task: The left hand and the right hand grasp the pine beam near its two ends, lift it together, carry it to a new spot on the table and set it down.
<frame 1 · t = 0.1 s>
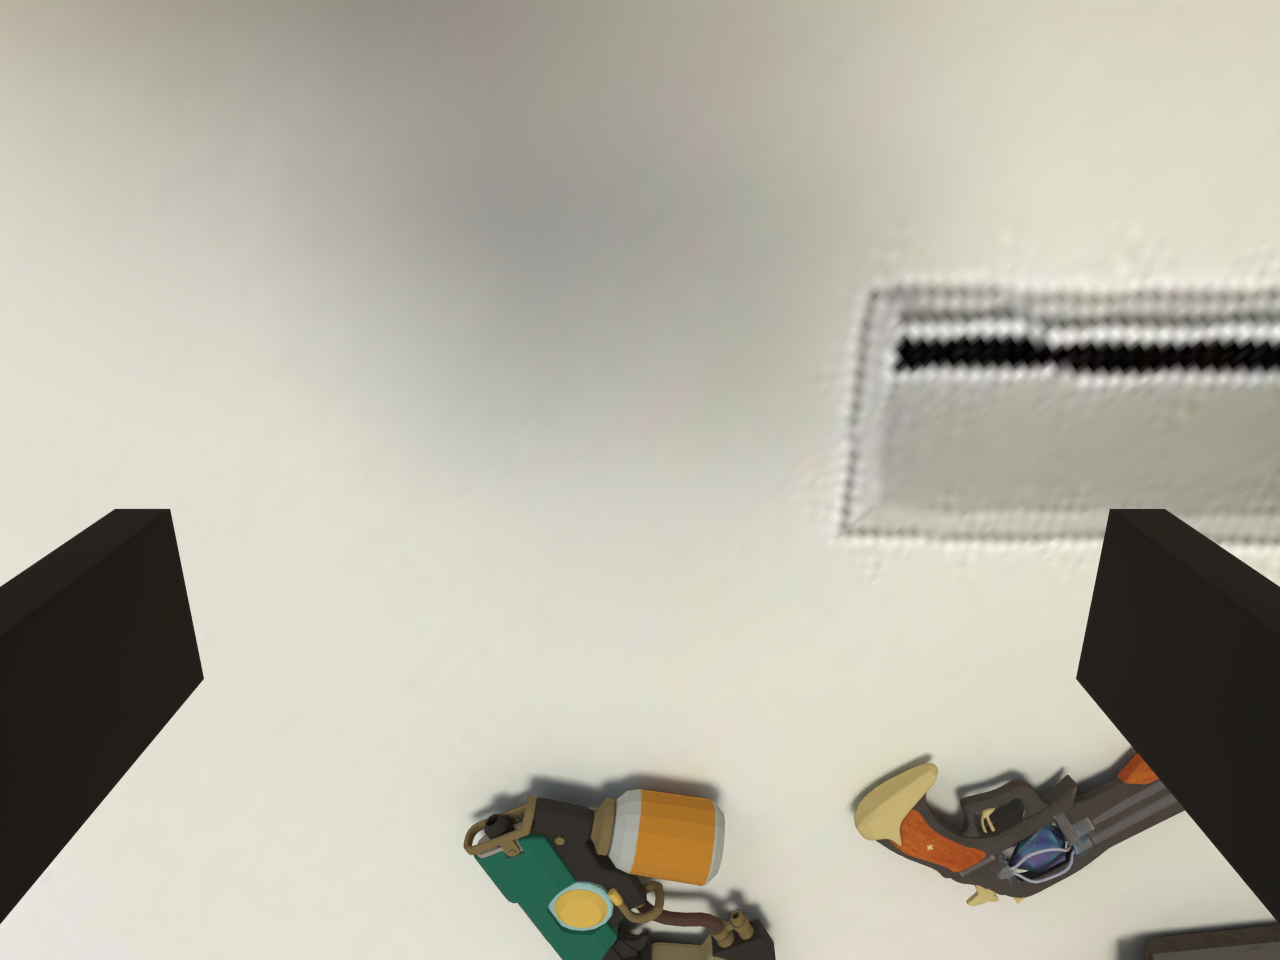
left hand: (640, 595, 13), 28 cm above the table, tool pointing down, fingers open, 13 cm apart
spray gun: (628, 881, 50), on the table
toy gun: (1039, 780, 48), on the table
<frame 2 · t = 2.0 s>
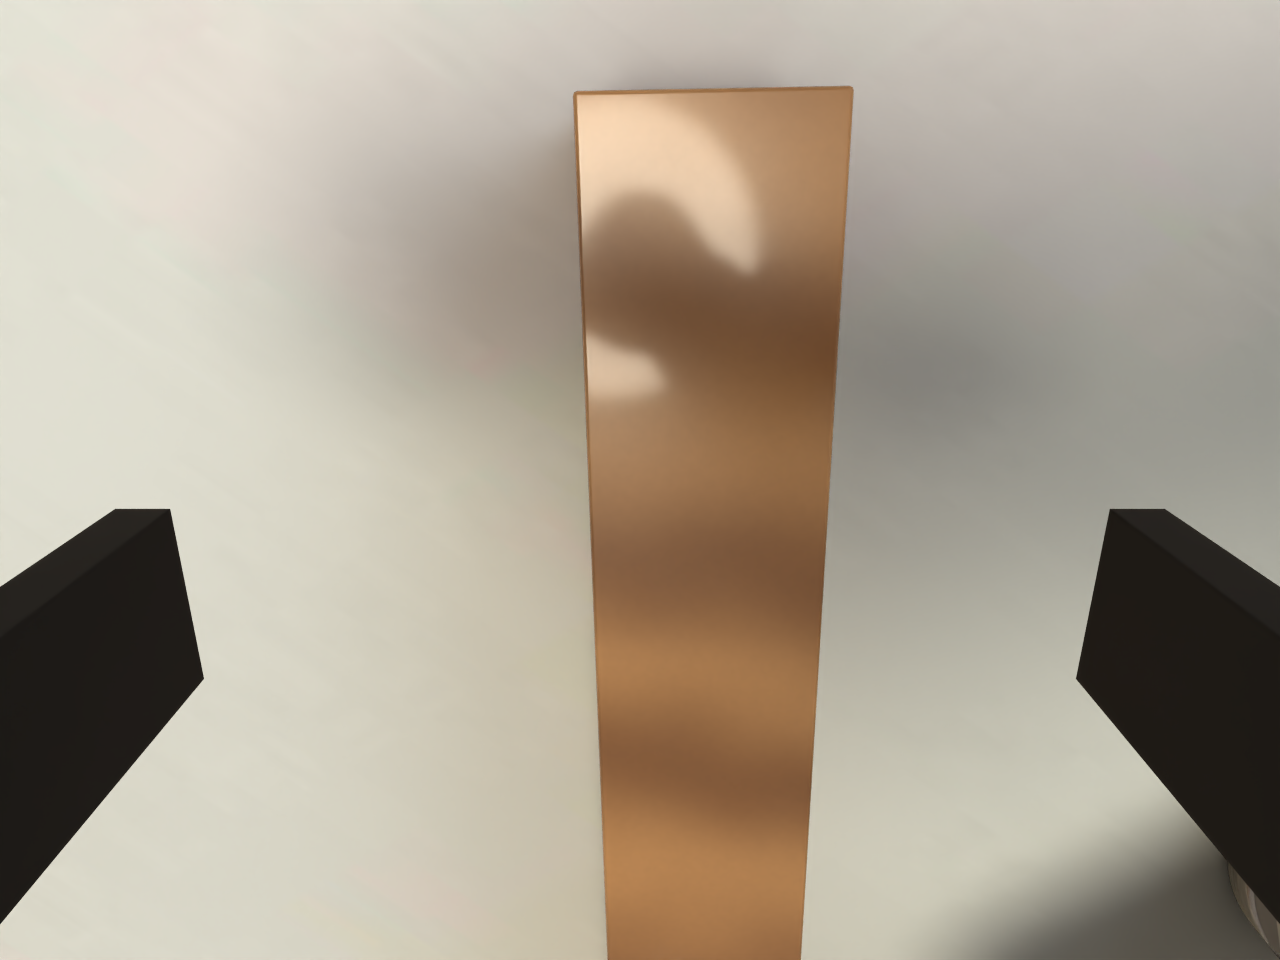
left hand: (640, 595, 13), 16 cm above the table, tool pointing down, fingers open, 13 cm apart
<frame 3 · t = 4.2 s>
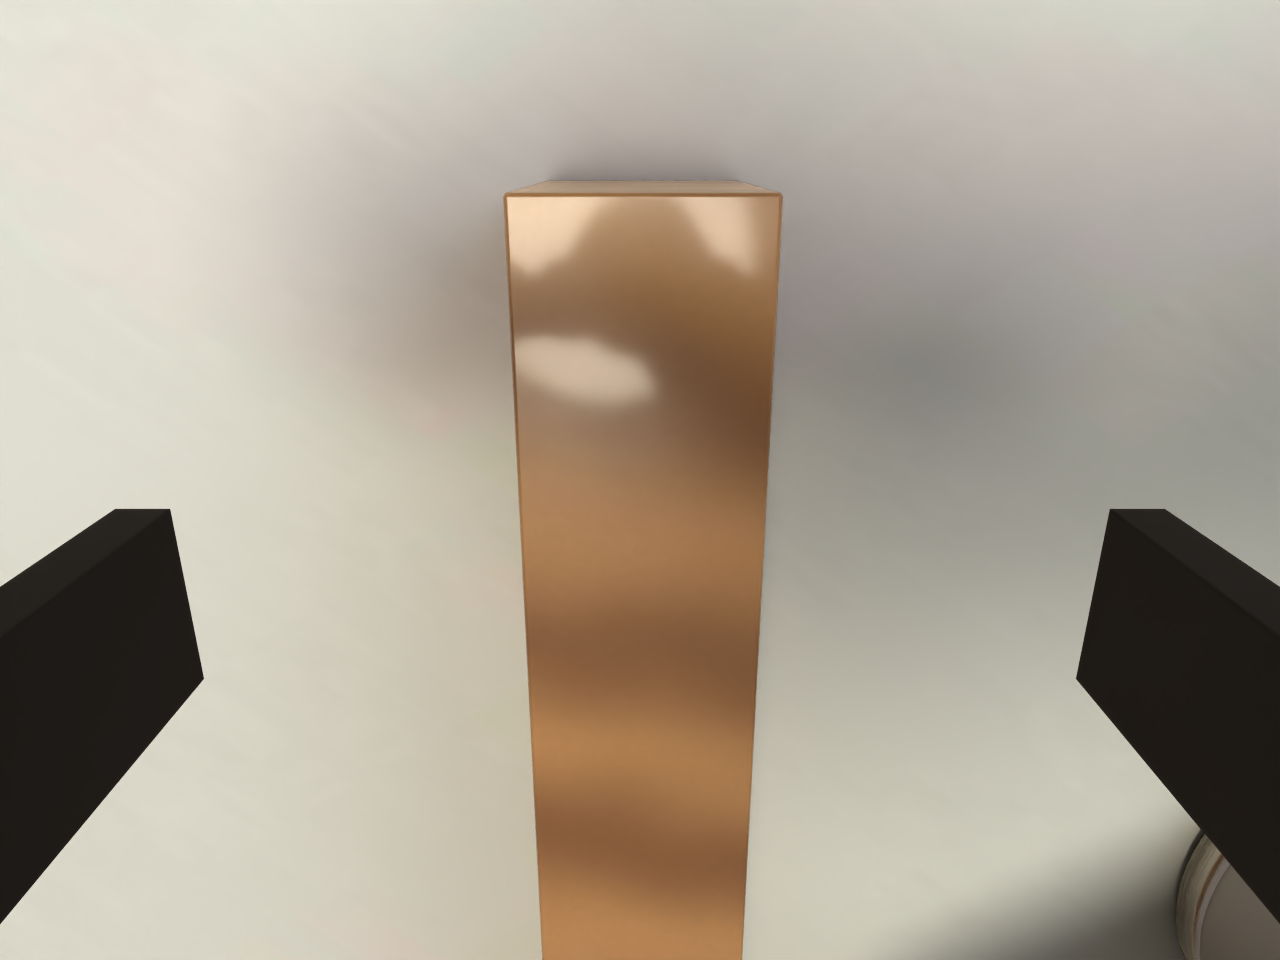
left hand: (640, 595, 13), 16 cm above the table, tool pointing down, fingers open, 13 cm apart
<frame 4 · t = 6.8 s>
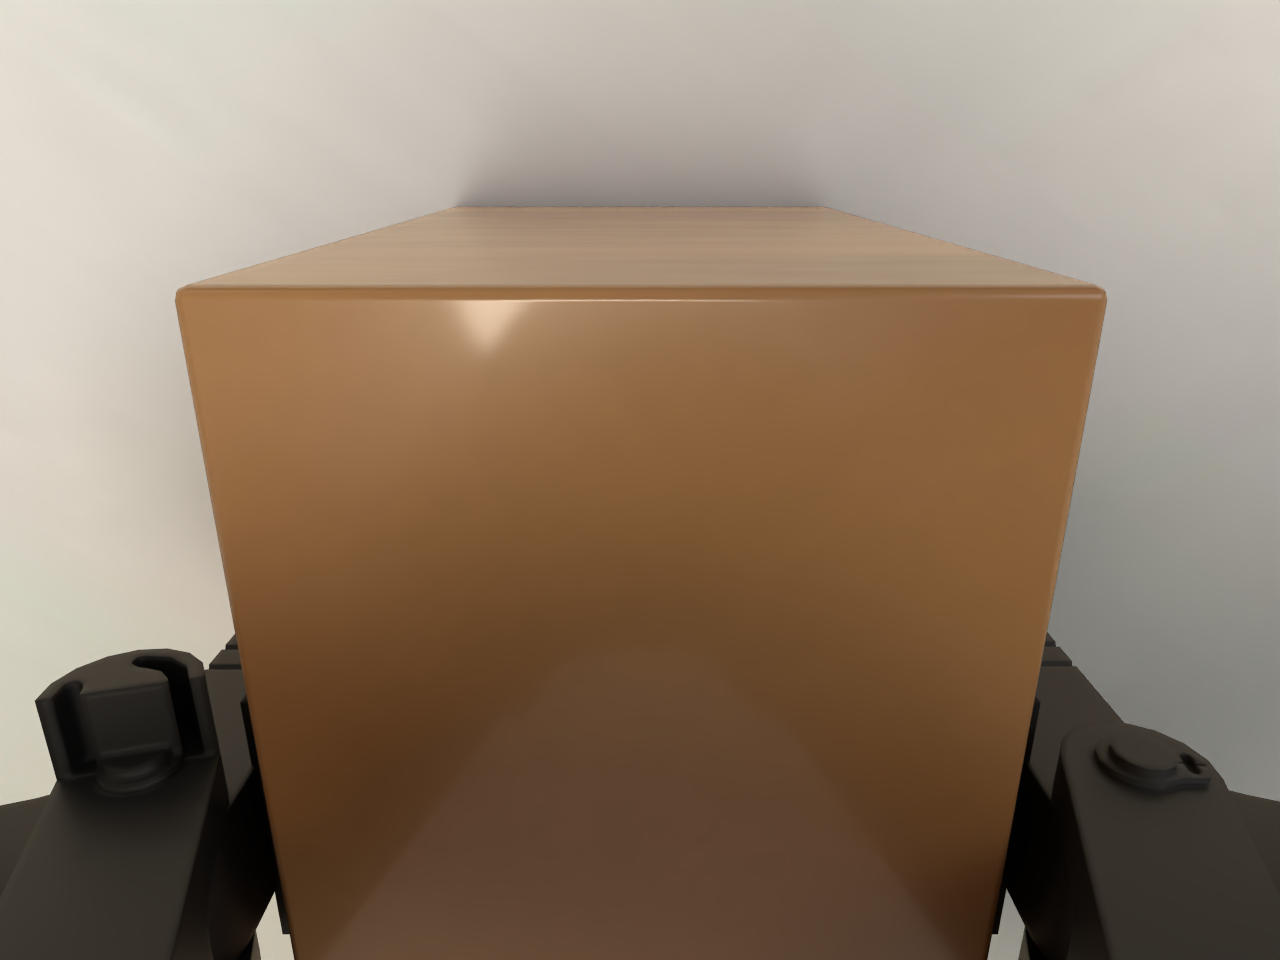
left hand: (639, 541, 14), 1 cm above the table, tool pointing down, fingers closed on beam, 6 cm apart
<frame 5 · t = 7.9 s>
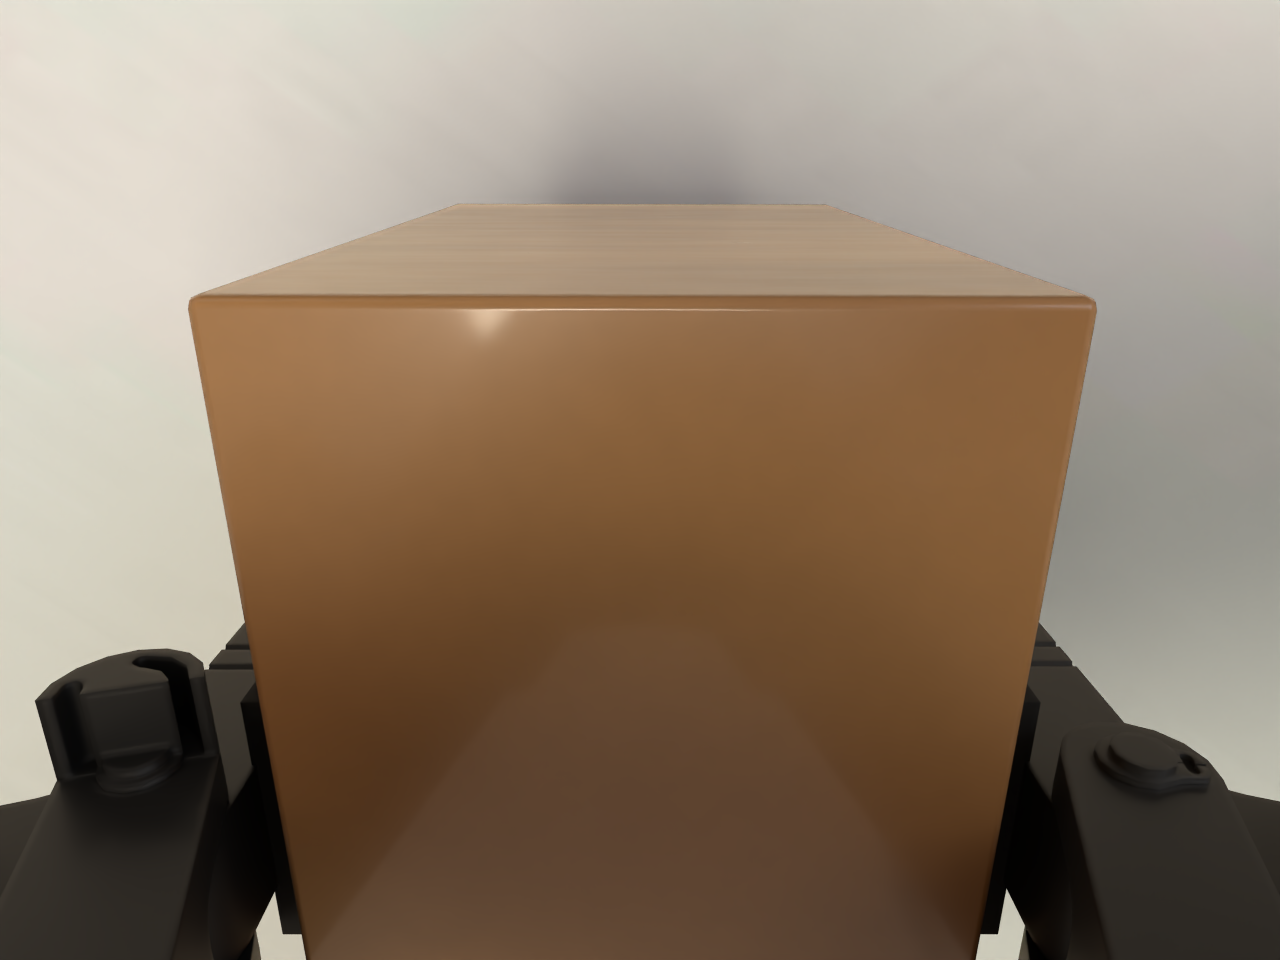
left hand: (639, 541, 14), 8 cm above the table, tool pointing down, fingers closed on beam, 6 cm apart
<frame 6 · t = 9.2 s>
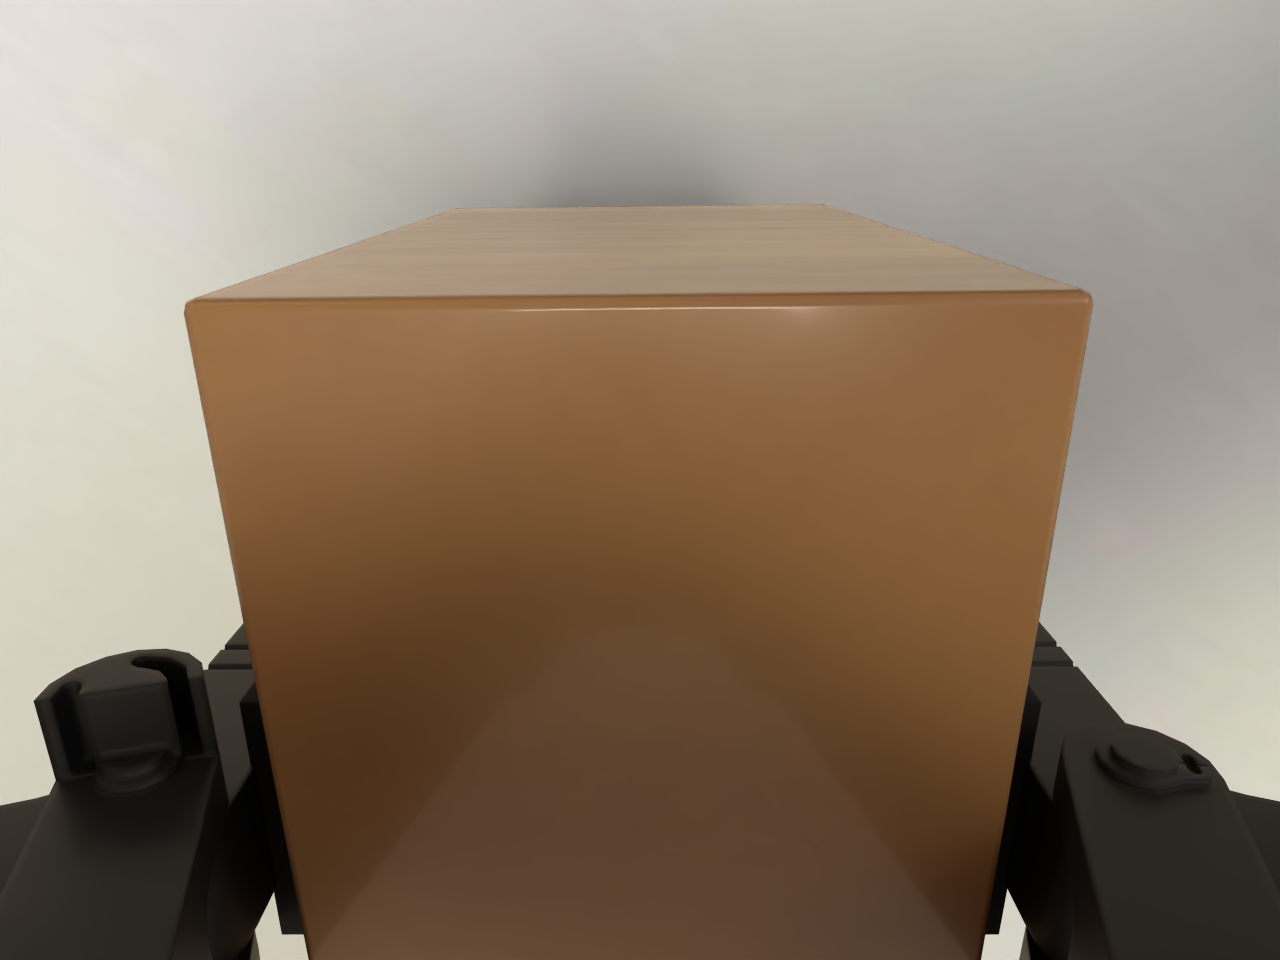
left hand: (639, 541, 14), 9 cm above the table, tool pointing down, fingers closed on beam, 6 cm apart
when the left hand's fingers open (1 cm above the table, at t = 11.5 s): beam stays where it is, on the table.
when the right hand's fingers open (4 cm above the table, at t = 11.7 s): beam stays where it is, on the table.
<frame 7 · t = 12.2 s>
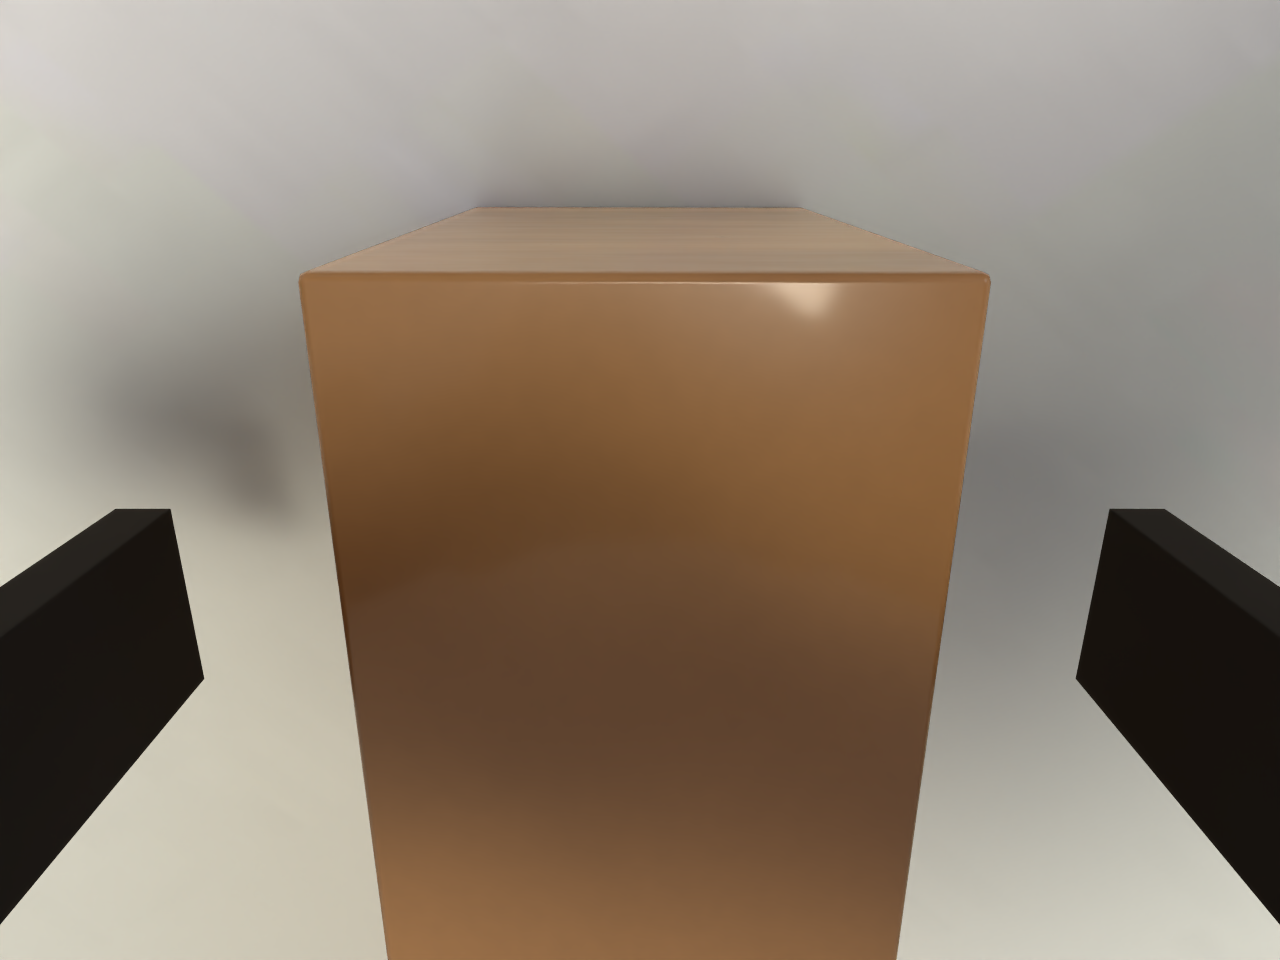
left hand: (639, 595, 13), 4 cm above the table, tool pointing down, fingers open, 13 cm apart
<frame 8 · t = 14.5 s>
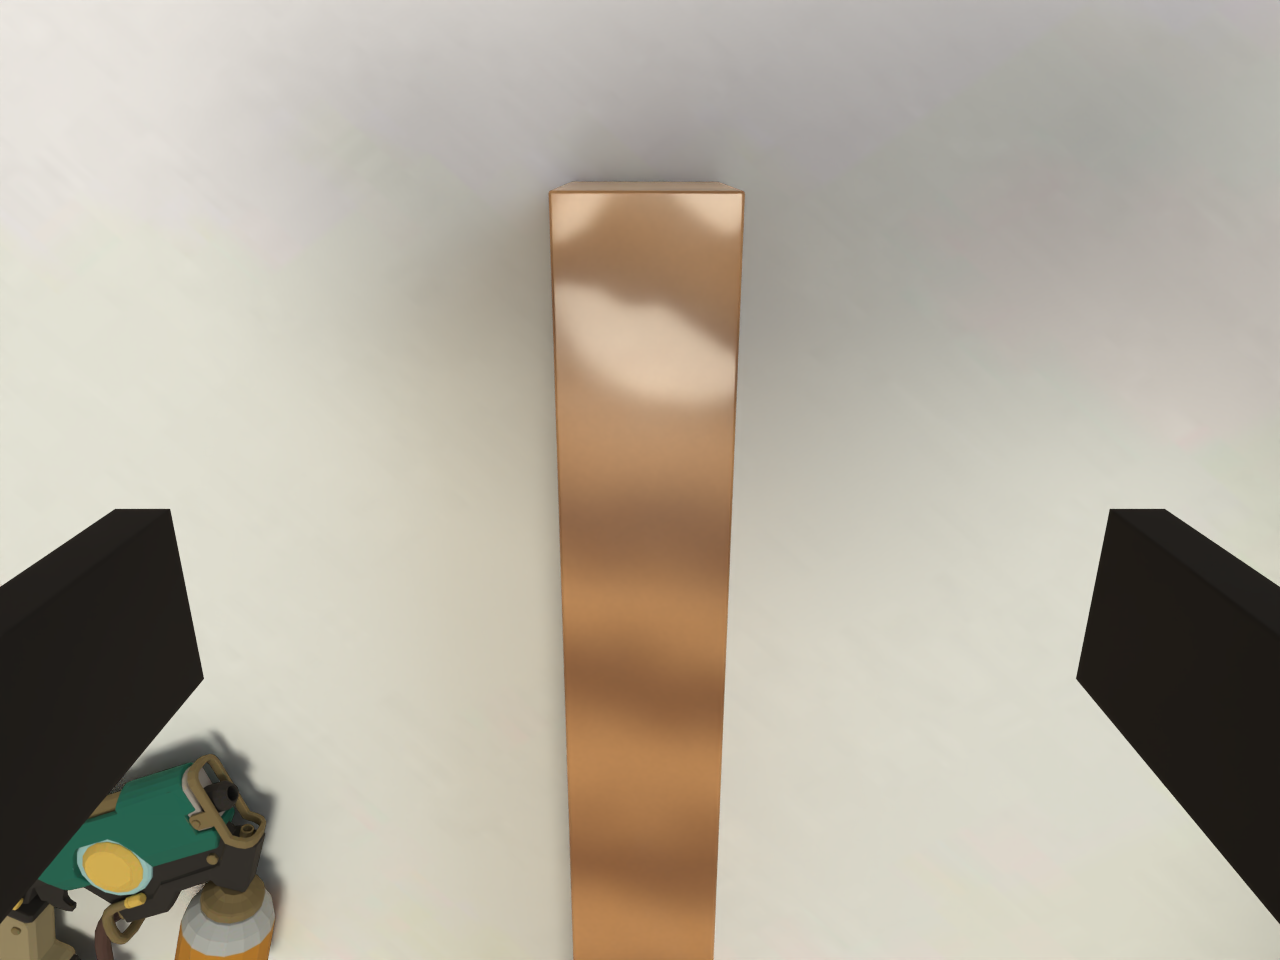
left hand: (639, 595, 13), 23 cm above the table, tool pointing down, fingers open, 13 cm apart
spray gun: (134, 867, 44), on the table
beam: (642, 935, 46), on the table
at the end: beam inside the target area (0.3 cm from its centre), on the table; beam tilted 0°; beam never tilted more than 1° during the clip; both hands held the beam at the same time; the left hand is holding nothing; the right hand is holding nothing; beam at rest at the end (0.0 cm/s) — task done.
